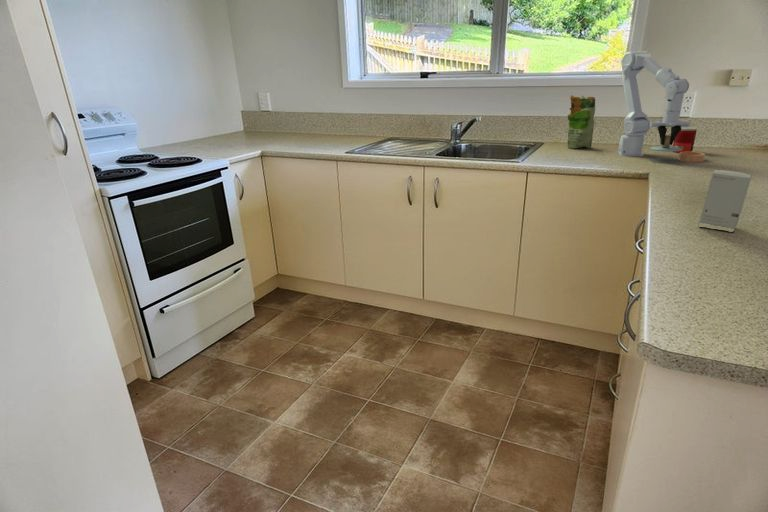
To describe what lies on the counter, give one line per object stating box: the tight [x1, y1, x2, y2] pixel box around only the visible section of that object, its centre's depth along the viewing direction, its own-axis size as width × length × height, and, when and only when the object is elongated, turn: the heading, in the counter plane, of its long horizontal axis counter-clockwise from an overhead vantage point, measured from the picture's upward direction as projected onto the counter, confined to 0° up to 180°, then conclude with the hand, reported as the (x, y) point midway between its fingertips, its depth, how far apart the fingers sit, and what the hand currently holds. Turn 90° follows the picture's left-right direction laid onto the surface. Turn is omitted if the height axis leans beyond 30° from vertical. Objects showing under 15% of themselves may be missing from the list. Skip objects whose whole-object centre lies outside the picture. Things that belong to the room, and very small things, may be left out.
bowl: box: [677, 151, 706, 163], centre depth 203 cm, size 9×9×3 cm
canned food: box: [672, 126, 698, 154], centre depth 217 cm, size 8×8×11 cm
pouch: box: [567, 94, 596, 150], centre depth 235 cm, size 11×12×25 cm
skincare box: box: [698, 169, 753, 230], centre depth 126 cm, size 8×6×15 cm
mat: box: [647, 157, 681, 164], centre depth 204 cm, size 10×10×1 cm
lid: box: [650, 134, 681, 153], centre depth 201 cm, size 11×11×6 cm
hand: (666, 144), depth 202 cm, fingers closed on lid, 3 cm apart
